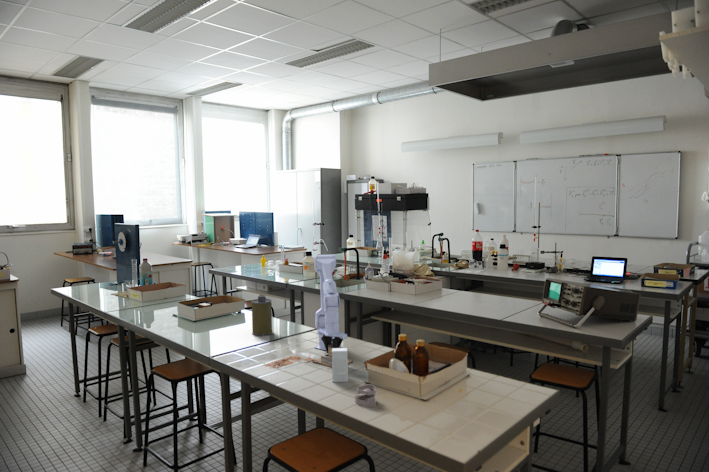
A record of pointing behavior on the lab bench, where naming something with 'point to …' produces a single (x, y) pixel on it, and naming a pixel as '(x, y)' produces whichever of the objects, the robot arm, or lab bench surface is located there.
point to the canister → (261, 316)
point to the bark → (286, 361)
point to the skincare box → (339, 365)
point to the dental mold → (366, 396)
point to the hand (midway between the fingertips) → (332, 353)
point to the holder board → (326, 360)
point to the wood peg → (330, 349)
